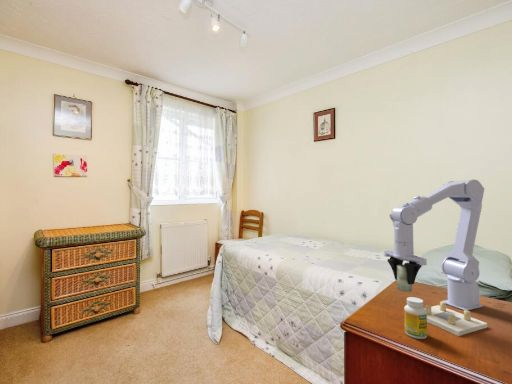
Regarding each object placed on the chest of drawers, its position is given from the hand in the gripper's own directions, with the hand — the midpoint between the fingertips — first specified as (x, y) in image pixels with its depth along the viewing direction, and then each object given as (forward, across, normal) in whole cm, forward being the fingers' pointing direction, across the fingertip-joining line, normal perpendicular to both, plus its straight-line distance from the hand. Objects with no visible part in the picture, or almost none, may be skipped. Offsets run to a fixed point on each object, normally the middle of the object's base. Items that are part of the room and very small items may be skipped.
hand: (404, 281), depth 89 cm
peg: (+3, 0, 0) cm, 3 cm away
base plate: (+9, +11, +4) cm, 15 cm away
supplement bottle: (+9, +13, -12) cm, 20 cm away
